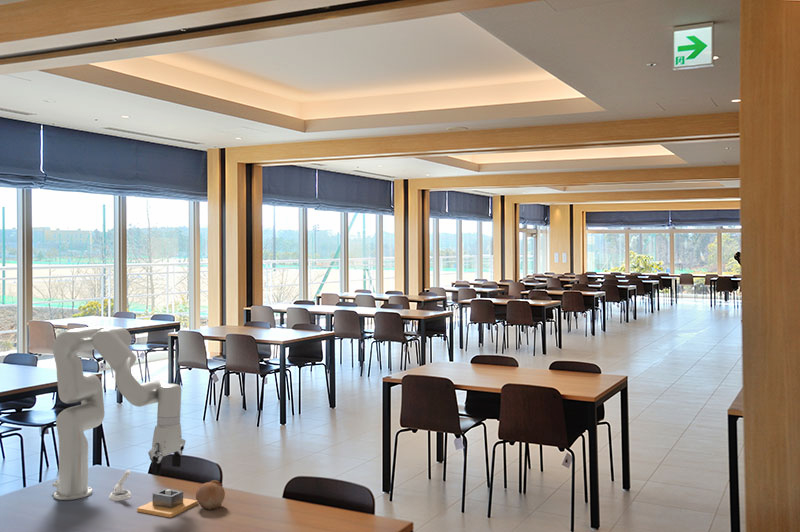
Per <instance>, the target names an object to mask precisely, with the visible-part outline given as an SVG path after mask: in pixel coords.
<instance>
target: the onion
mask: <svg viewBox="0 0 800 532" xmlns="http://www.w3.org/2000/svg"><path fill="white" fill-rule="evenodd" d="M225 492H226V491H225V489H224V484H222V482H220V481H219V480H216V479H213V480H209V481H208V482H204V483H201V485H199V487H198V488H197V490H196V495H195V500H197V501H198V505H199V506H200V508H203V509H204V510H213V509H214V510H216V509H217V508H218V507H221V506H222V503H223V502H224V500H225V495H226V493H225Z"/></svg>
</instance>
